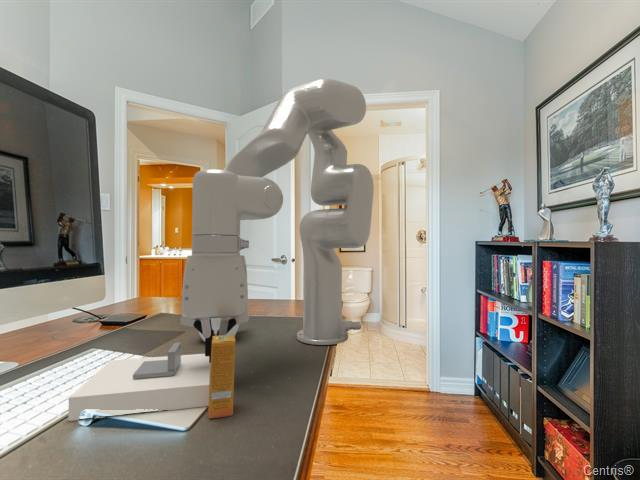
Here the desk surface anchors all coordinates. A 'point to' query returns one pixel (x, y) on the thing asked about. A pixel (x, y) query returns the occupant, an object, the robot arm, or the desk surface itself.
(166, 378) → the socket block
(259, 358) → the desk surface
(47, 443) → the desk surface
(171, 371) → the grey l-shaped bracket
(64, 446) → the desk surface
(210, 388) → the supplement box
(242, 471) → the desk surface
